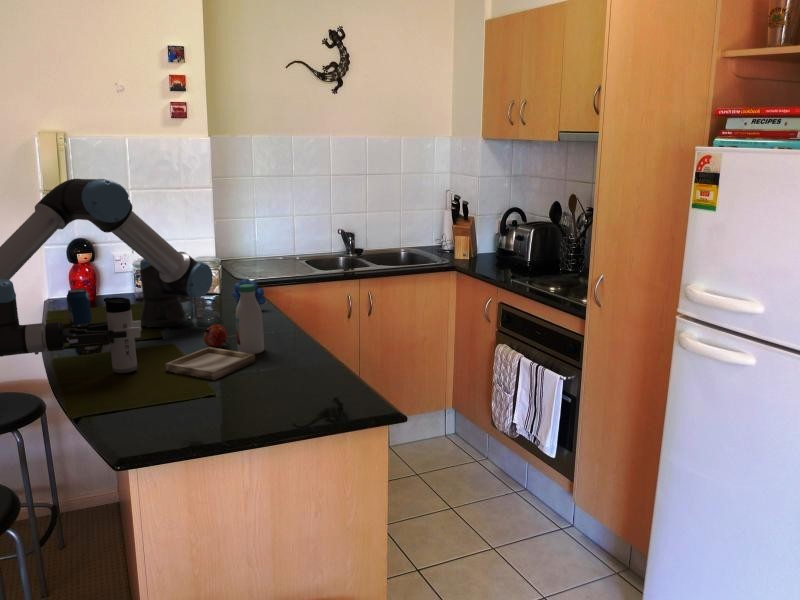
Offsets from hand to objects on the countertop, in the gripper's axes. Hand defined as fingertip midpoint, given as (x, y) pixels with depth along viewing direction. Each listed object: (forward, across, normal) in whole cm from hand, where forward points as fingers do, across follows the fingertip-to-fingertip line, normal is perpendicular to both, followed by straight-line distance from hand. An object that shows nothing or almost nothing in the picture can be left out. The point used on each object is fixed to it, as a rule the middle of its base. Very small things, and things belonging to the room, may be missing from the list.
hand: (140, 328), depth 193 cm
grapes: (+34, -57, -12) cm, 68 cm away
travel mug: (-5, 0, -11) cm, 12 cm away
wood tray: (+18, +3, -12) cm, 21 cm away
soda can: (-22, -59, -12) cm, 65 cm away
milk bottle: (+30, -8, -12) cm, 33 cm away
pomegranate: (+20, -16, -12) cm, 28 cm away
